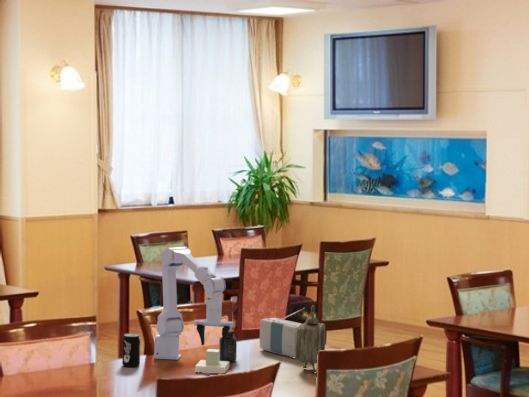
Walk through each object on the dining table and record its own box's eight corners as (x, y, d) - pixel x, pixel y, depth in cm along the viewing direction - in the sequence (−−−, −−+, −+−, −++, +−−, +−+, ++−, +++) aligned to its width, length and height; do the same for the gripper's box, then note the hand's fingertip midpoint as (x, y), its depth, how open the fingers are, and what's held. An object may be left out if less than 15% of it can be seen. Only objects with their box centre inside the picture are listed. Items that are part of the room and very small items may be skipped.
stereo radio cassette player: (258, 350, 439) (259, 302, 437) (273, 348, 444) (274, 300, 443) (293, 359, 423) (295, 309, 422) (308, 357, 429) (309, 308, 427)
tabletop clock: (318, 375, 397) (320, 309, 396) (294, 373, 399) (296, 307, 398) (324, 367, 412) (326, 302, 410) (301, 365, 413) (303, 301, 412)
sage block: (205, 364, 399) (206, 351, 398) (207, 361, 403) (208, 348, 403) (217, 365, 398) (217, 352, 398) (219, 362, 403) (219, 349, 402)
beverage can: (118, 366, 402) (119, 335, 401) (128, 363, 408) (129, 332, 407) (133, 368, 399) (133, 337, 398) (143, 365, 405) (143, 334, 404)
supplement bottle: (237, 359, 420) (238, 329, 419) (235, 363, 413) (235, 332, 413) (220, 358, 421) (220, 328, 420) (217, 362, 414) (218, 331, 413)
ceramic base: (195, 374, 396) (195, 366, 396) (200, 367, 407) (200, 359, 407) (224, 375, 395) (224, 367, 394) (229, 369, 405) (229, 361, 405)
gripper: (192, 310, 396) (191, 346, 397) (231, 312, 394) (230, 348, 395) (196, 307, 403) (195, 342, 404) (234, 309, 401) (233, 344, 402)
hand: (213, 345), depth 400 cm, fingers open, 7 cm apart
